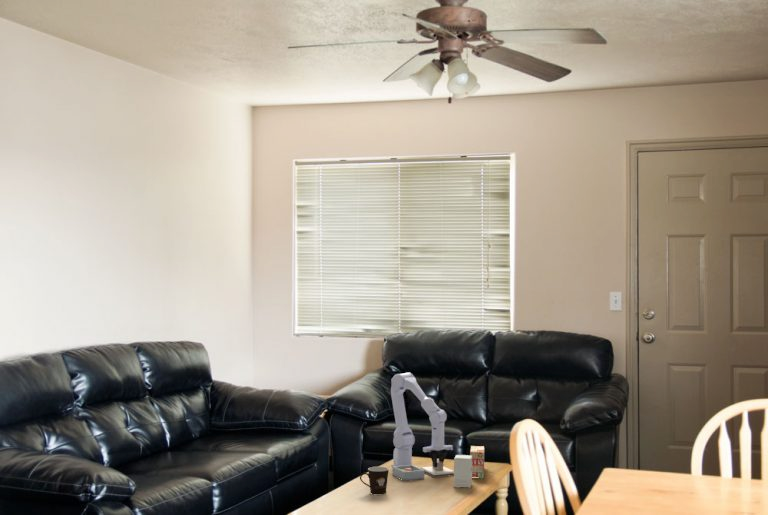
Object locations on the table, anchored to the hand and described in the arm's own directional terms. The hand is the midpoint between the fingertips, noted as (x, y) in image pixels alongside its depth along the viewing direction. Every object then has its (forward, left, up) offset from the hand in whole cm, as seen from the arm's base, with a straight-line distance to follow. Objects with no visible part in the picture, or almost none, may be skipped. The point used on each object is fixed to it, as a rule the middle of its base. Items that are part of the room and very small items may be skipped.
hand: (437, 466), depth 408 cm
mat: (0, 0, -3) cm, 3 cm away
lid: (0, 0, -2) cm, 2 cm away
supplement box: (+25, -1, -3) cm, 25 cm away
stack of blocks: (+7, +17, -3) cm, 18 cm away
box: (+2, -16, -3) cm, 16 cm away
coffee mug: (+21, -41, -3) cm, 46 cm away
